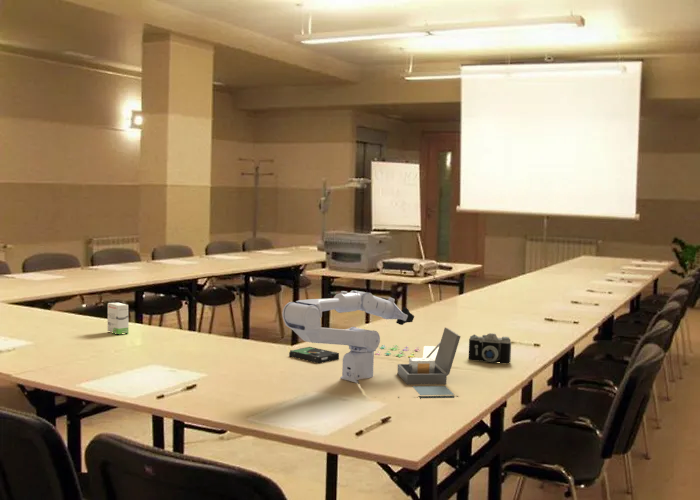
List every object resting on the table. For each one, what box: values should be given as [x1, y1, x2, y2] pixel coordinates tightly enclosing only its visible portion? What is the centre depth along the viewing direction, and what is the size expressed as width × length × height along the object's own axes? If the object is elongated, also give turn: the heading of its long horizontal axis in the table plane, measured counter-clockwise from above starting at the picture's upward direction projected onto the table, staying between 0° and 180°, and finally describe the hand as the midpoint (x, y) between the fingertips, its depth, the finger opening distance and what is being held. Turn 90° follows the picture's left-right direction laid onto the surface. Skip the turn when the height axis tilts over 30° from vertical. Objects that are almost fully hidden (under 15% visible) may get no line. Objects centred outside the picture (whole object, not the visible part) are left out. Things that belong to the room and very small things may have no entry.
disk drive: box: [288, 346, 340, 364], centre depth 265 cm, size 10×3×15 cm
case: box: [397, 327, 461, 386], centre depth 235 cm, size 16×15×16 cm
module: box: [408, 357, 435, 374], centre depth 234 cm, size 7×5×6 cm
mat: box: [412, 385, 455, 399], centre depth 221 cm, size 10×10×1 cm
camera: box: [468, 332, 512, 364], centre depth 266 cm, size 15×7×10 cm, turn 68°
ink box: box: [107, 302, 129, 334], centre depth 300 cm, size 9×5×12 cm, turn 45°
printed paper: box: [375, 344, 439, 361], centre depth 279 cm, size 30×30×2 cm
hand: (404, 314), depth 250 cm, fingers open, 7 cm apart
